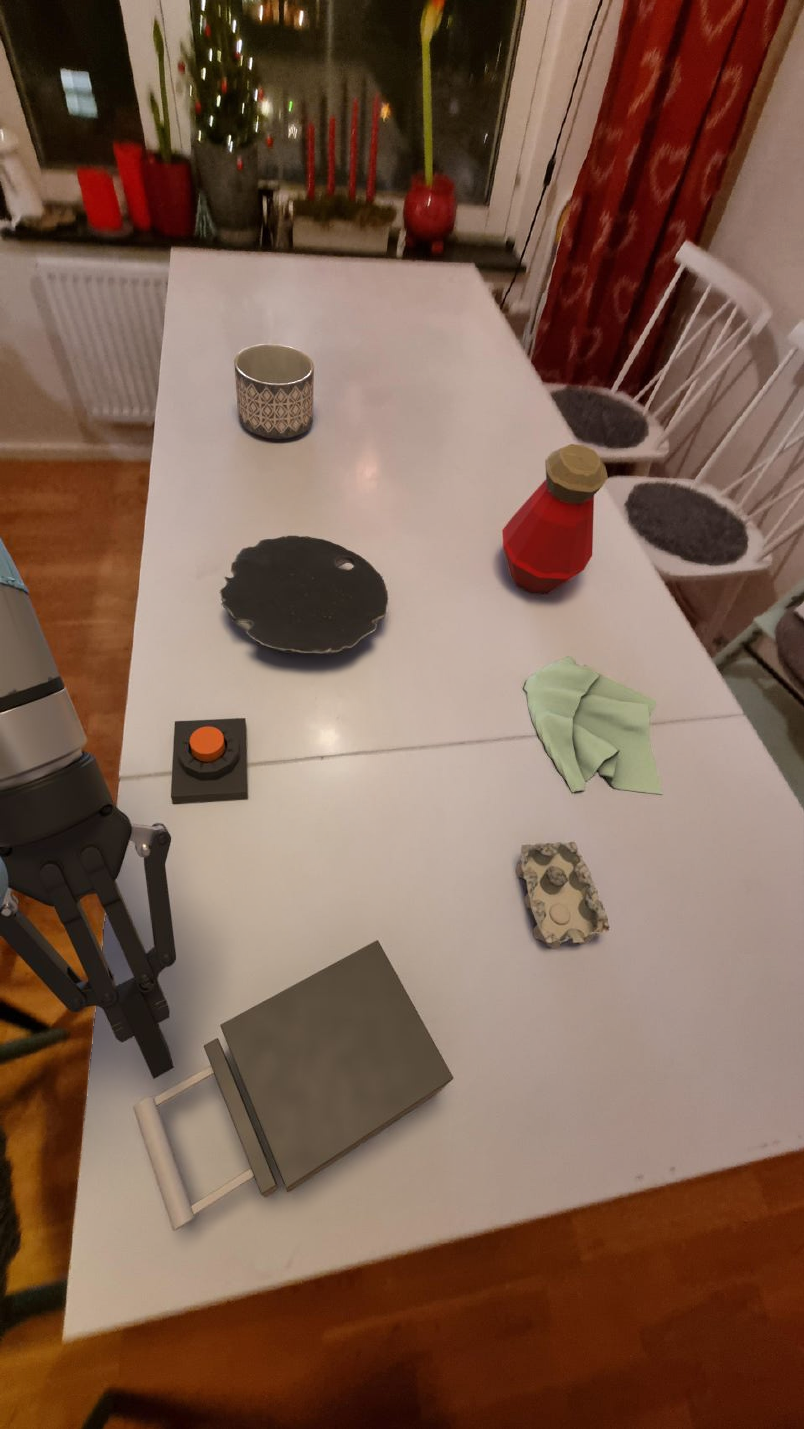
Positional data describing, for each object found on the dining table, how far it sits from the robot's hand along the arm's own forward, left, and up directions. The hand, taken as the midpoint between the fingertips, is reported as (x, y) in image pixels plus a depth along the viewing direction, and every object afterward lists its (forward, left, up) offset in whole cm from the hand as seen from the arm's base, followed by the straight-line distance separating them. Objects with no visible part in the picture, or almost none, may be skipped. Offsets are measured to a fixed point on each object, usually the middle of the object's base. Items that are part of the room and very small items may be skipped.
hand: (161, 1062), depth 51 cm
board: (+53, +23, -12) cm, 59 cm away
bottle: (+81, 0, -12) cm, 82 cm away
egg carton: (+34, -22, -12) cm, 42 cm away
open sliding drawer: (+3, -8, -11) cm, 14 cm away
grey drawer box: (+8, -10, -12) cm, 18 cm away
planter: (+88, +53, -12) cm, 103 cm away
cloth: (+58, -18, -12) cm, 62 cm away
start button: (+27, +19, -9) cm, 34 cm away
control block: (+27, +19, -12) cm, 35 cm away
